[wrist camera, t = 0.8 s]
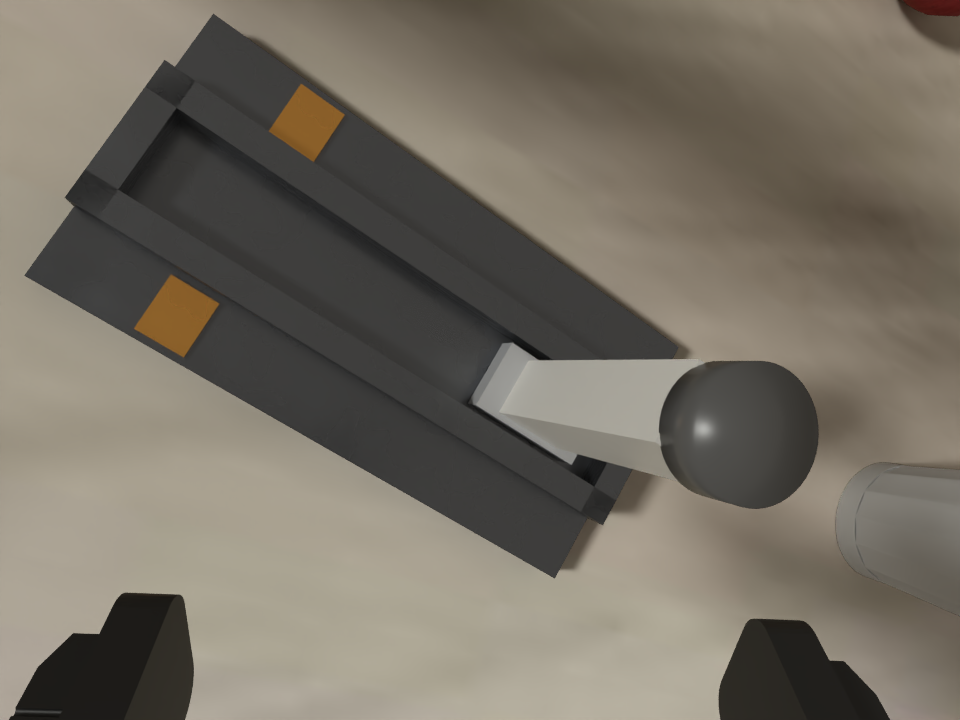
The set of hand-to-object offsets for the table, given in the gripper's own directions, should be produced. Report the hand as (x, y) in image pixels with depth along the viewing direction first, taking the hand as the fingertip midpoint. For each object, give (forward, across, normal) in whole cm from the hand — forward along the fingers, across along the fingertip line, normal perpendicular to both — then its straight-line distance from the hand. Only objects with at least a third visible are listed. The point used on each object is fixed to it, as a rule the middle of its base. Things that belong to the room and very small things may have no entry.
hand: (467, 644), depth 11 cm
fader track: (+21, +2, +6) cm, 22 cm away
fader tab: (+19, -4, +9) cm, 22 cm away
